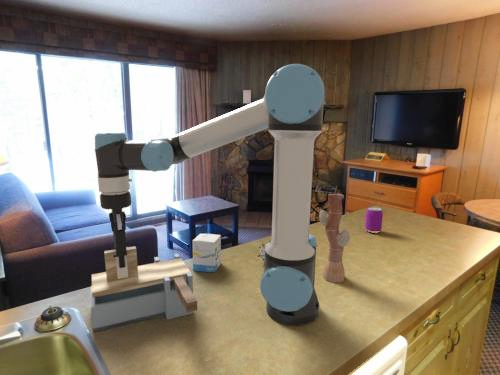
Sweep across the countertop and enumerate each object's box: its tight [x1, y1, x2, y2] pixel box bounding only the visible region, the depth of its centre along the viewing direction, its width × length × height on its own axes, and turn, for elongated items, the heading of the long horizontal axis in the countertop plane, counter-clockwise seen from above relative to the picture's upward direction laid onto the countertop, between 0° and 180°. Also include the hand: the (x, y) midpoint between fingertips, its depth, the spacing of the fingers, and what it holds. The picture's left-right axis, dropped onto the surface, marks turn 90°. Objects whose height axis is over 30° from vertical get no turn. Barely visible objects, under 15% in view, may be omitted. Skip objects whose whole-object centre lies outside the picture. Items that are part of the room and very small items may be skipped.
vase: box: [318, 192, 351, 283], centre depth 113 cm, size 10×7×30 cm
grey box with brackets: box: [90, 253, 195, 333], centre depth 94 cm, size 17×26×12 cm, turn 116°
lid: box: [91, 245, 192, 297], centre depth 92 cm, size 11×25×10 cm, turn 116°
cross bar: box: [173, 277, 198, 313], centre depth 85 cm, size 14×2×2 cm, turn 26°
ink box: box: [192, 233, 222, 273], centre depth 122 cm, size 8×8×12 cm
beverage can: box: [364, 206, 384, 232], centre depth 163 cm, size 8×8×12 cm
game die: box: [257, 240, 272, 261], centre depth 127 cm, size 9×8×10 cm
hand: (122, 275), depth 90 cm, fingers closed on lid, 2 cm apart
